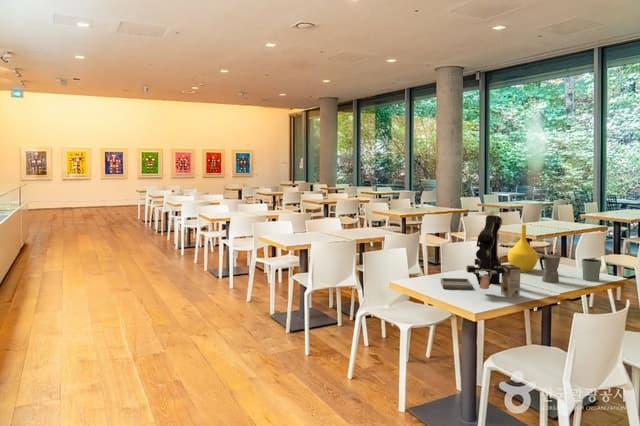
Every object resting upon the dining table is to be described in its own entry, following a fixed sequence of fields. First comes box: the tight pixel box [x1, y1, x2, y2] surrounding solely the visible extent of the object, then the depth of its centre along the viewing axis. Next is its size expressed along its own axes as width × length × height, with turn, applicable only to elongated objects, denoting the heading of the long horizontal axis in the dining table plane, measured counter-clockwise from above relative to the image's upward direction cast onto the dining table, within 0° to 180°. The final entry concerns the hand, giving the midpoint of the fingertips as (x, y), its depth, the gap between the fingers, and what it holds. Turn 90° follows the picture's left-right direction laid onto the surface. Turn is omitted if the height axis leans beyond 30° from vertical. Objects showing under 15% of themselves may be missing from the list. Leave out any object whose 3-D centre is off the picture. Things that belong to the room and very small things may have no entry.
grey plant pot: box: [581, 258, 602, 282], centre depth 296 cm, size 10×10×12 cm
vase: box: [507, 224, 539, 273], centre depth 322 cm, size 18×18×30 cm
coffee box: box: [500, 263, 522, 299], centre depth 264 cm, size 9×6×16 cm
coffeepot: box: [538, 250, 562, 284], centre depth 293 cm, size 15×9×18 cm, turn 110°
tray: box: [440, 277, 473, 291], centre depth 286 cm, size 16×16×2 cm
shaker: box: [479, 273, 490, 290], centre depth 268 cm, size 5×5×7 cm
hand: (484, 285), depth 268 cm, fingers closed on shaker, 5 cm apart
